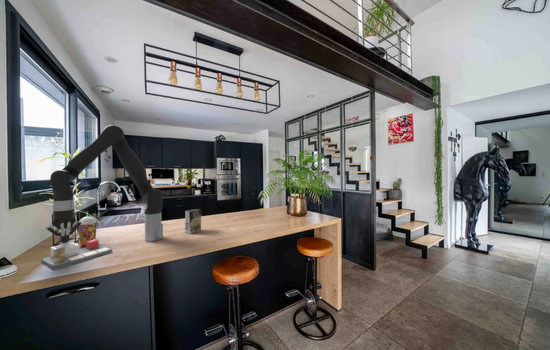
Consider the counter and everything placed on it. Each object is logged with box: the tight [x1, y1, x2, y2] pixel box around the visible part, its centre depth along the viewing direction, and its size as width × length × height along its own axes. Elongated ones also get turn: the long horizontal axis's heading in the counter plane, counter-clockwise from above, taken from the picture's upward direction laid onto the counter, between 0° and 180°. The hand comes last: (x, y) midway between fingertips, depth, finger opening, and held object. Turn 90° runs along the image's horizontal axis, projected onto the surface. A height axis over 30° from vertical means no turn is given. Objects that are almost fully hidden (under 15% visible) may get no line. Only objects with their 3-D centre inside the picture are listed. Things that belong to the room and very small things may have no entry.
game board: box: [41, 239, 113, 271], centre depth 103 cm, size 22×17×6 cm
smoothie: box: [77, 211, 98, 247], centre depth 119 cm, size 8×8×20 cm
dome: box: [57, 241, 73, 249], centre depth 101 cm, size 6×6×6 cm
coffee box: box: [184, 208, 202, 235], centre depth 144 cm, size 9×6×16 cm
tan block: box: [53, 248, 66, 264], centre depth 93 cm, size 4×4×6 cm
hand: (64, 242), depth 101 cm, fingers closed
